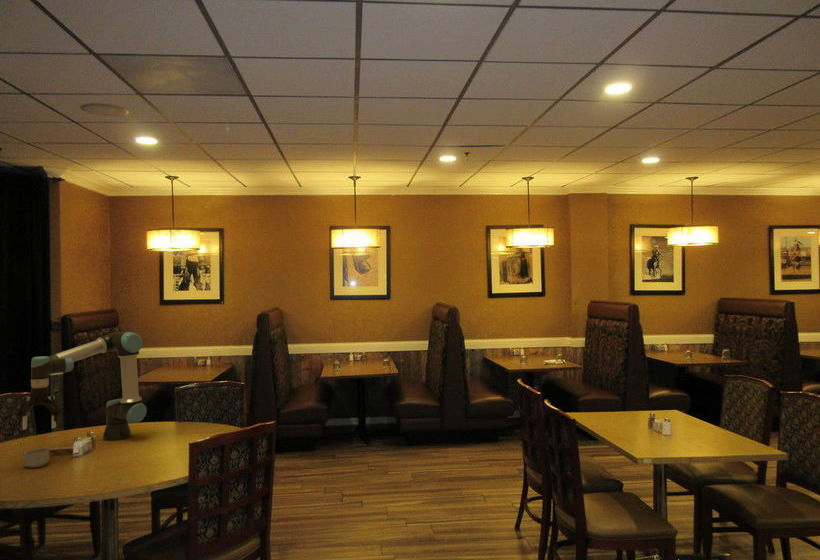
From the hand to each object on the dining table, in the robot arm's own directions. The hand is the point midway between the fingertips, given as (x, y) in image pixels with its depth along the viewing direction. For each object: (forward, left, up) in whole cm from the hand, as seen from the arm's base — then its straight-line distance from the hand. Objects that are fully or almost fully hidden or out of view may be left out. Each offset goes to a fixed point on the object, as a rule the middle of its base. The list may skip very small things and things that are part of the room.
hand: (39, 428), depth 276 cm
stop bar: (0, -18, -19) cm, 26 cm away
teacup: (0, 0, -19) cm, 19 cm away
